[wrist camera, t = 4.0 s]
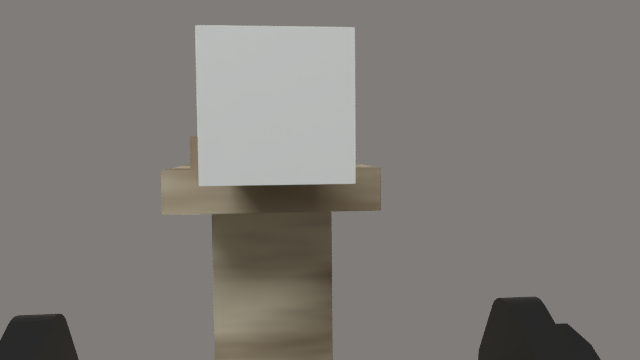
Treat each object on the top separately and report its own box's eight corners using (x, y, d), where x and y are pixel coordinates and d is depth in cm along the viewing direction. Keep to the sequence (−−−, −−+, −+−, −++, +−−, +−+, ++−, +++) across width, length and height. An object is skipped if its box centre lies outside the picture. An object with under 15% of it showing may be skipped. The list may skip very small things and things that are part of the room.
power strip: (242, 162, 39) (241, 96, 38) (298, 161, 39) (297, 96, 39) (198, 185, 14) (194, 0, 13) (355, 183, 14) (354, 2, 14)
